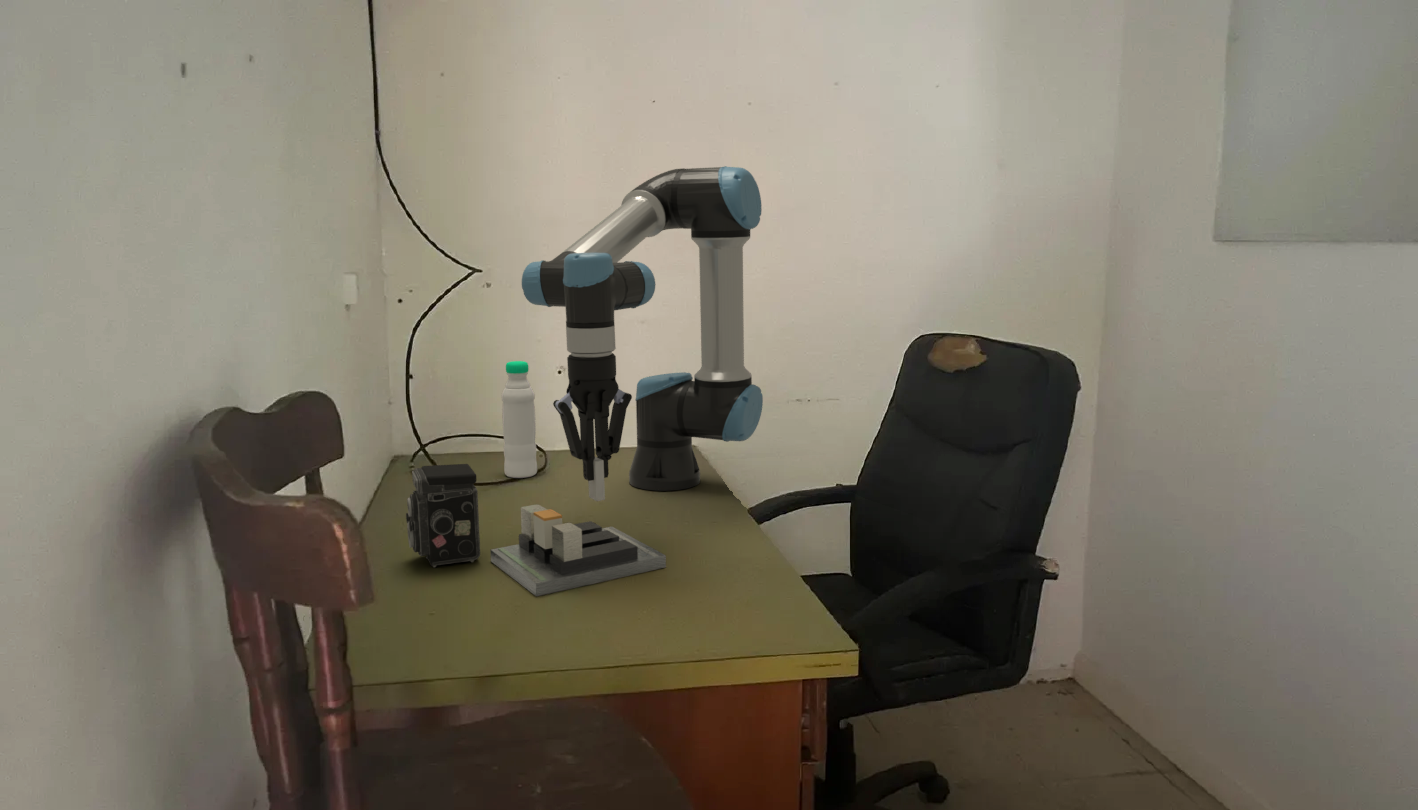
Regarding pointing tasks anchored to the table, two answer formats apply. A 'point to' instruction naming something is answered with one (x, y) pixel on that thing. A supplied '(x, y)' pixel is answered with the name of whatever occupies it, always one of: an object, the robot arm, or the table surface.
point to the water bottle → (519, 422)
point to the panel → (573, 577)
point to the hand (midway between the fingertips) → (596, 498)
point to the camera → (444, 514)
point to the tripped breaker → (545, 527)
